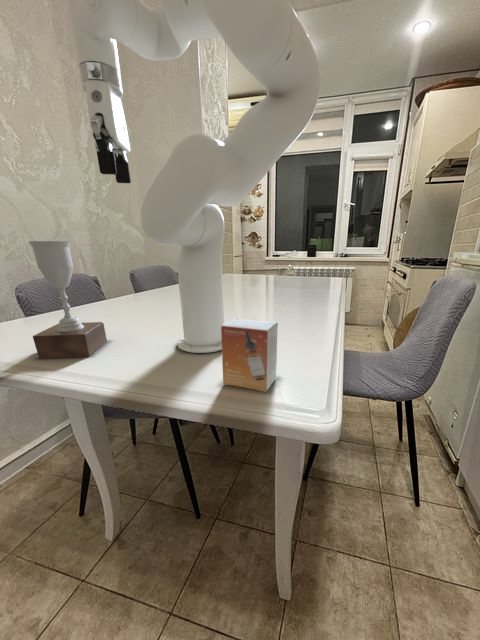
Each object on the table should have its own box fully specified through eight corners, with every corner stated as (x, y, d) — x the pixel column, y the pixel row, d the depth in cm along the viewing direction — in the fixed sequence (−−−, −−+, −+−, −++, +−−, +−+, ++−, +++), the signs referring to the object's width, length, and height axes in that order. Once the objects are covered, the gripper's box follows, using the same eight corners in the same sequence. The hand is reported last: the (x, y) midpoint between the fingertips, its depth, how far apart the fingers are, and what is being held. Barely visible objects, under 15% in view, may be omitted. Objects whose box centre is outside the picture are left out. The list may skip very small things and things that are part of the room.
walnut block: (107, 341, 71) (103, 321, 69) (89, 356, 62) (84, 334, 60) (63, 343, 70) (58, 323, 68) (38, 358, 60) (32, 336, 59)
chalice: (70, 334, 60) (48, 241, 54) (43, 332, 61) (18, 241, 55) (96, 324, 67) (79, 241, 60) (71, 323, 68) (51, 241, 62)
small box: (222, 385, 49) (219, 325, 46) (235, 372, 54) (234, 317, 51) (267, 392, 47) (267, 330, 43) (277, 378, 52) (278, 321, 48)
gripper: (105, 60, 52) (121, 170, 58) (133, 103, 68) (143, 186, 74) (60, 57, 51) (81, 169, 57) (99, 101, 67) (113, 185, 73)
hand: (116, 178), depth 65 cm, fingers open, 9 cm apart
